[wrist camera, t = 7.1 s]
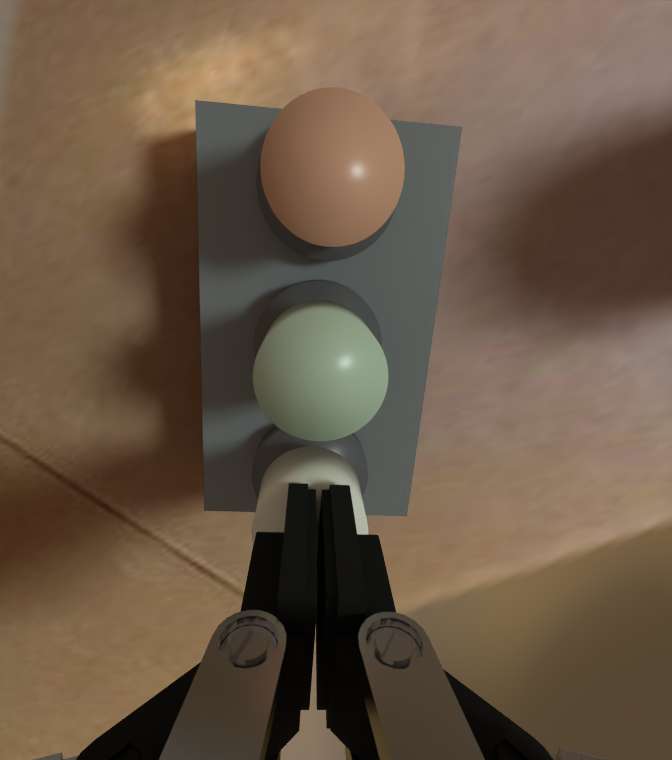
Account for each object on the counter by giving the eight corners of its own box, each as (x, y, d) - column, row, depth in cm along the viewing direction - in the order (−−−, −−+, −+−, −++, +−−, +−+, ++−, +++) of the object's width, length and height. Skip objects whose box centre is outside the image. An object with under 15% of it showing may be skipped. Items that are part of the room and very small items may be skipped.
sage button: (369, 411, 13) (381, 443, 11) (261, 406, 12) (252, 438, 10) (380, 303, 12) (395, 316, 10) (264, 296, 12) (253, 307, 9)
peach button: (380, 250, 12) (396, 251, 10) (267, 242, 12) (259, 241, 10) (393, 123, 11) (413, 95, 9) (271, 111, 11) (261, 79, 9)
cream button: (355, 534, 14) (362, 583, 12) (259, 531, 14) (251, 581, 12) (363, 448, 13) (373, 485, 11) (261, 444, 13) (252, 482, 11)
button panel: (394, 481, 19) (411, 529, 16) (218, 475, 18) (199, 524, 15) (437, 146, 15) (471, 119, 12) (214, 124, 14) (187, 90, 11)
